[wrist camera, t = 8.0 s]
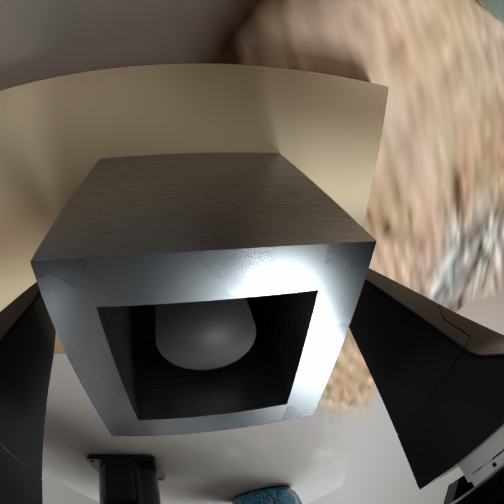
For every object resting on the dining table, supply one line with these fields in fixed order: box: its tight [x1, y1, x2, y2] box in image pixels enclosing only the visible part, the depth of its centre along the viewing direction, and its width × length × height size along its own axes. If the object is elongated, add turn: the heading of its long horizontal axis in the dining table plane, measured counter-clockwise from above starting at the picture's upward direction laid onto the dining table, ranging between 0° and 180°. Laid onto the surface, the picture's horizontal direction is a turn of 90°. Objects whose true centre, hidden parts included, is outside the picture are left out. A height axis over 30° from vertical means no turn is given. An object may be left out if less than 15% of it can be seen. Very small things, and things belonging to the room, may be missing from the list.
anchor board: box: [0, 63, 388, 370], centre depth 9 cm, size 12×18×6 cm, turn 86°
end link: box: [30, 152, 376, 436], centre depth 9 cm, size 6×6×6 cm
